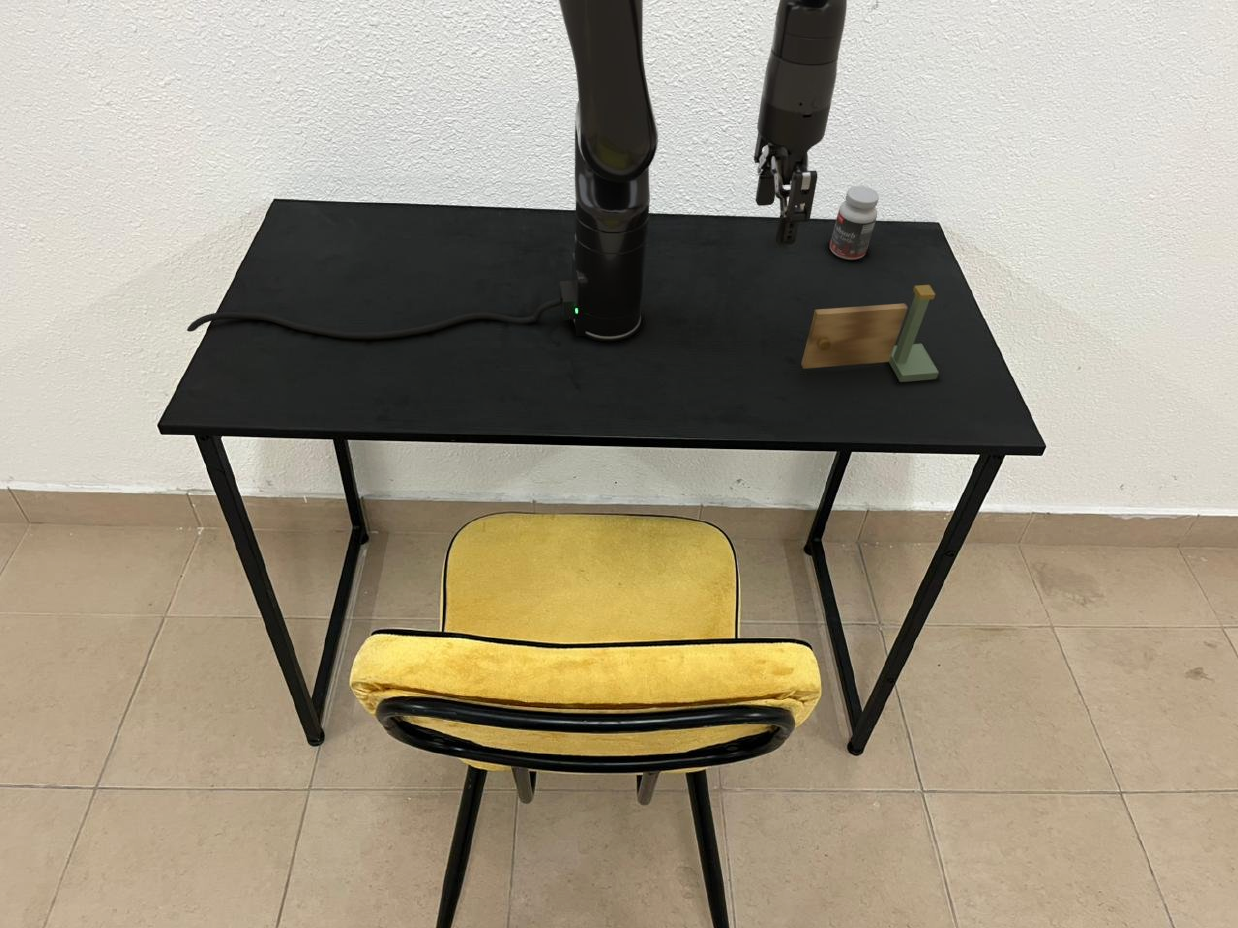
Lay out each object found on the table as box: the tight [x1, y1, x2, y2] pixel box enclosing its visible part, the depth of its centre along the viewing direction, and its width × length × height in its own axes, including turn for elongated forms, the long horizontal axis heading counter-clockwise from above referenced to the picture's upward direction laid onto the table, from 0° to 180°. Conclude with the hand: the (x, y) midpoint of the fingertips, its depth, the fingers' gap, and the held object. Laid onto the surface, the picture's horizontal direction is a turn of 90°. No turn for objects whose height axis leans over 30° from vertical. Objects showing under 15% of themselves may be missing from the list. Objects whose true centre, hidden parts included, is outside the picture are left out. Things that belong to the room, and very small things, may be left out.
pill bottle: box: [829, 185, 880, 261], centre depth 138 cm, size 6×6×10 cm
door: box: [801, 302, 909, 370], centre depth 118 cm, size 12×2×9 cm, turn 100°
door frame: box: [888, 284, 940, 383], centre depth 119 cm, size 5×6×13 cm
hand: (774, 223), depth 111 cm, fingers open, 8 cm apart
